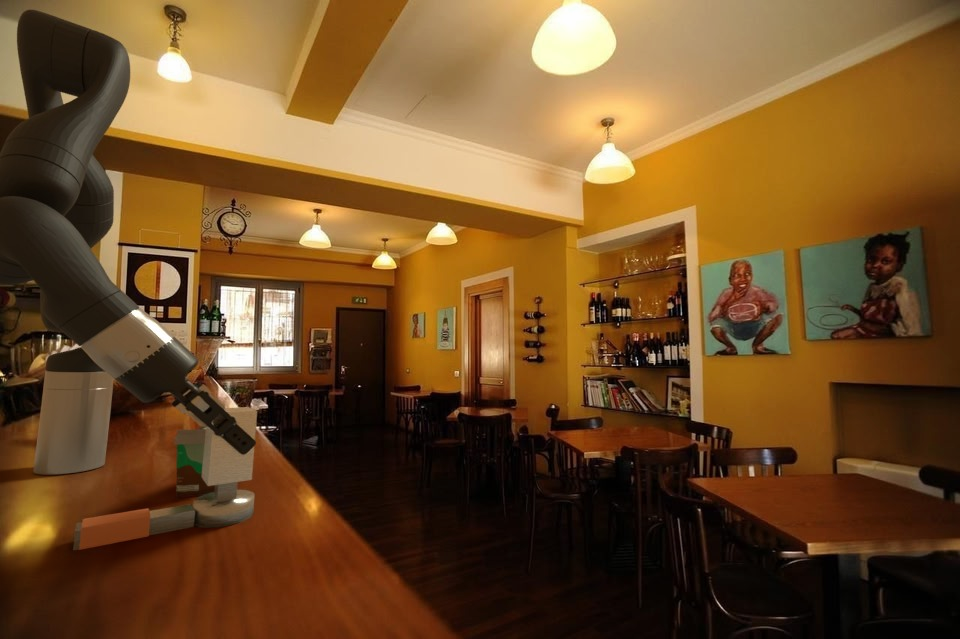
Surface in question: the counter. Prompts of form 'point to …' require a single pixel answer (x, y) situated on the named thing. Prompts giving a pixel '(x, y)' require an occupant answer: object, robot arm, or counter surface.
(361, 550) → the counter surface
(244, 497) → the ratchet
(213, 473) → the white upright block
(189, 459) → the food container
